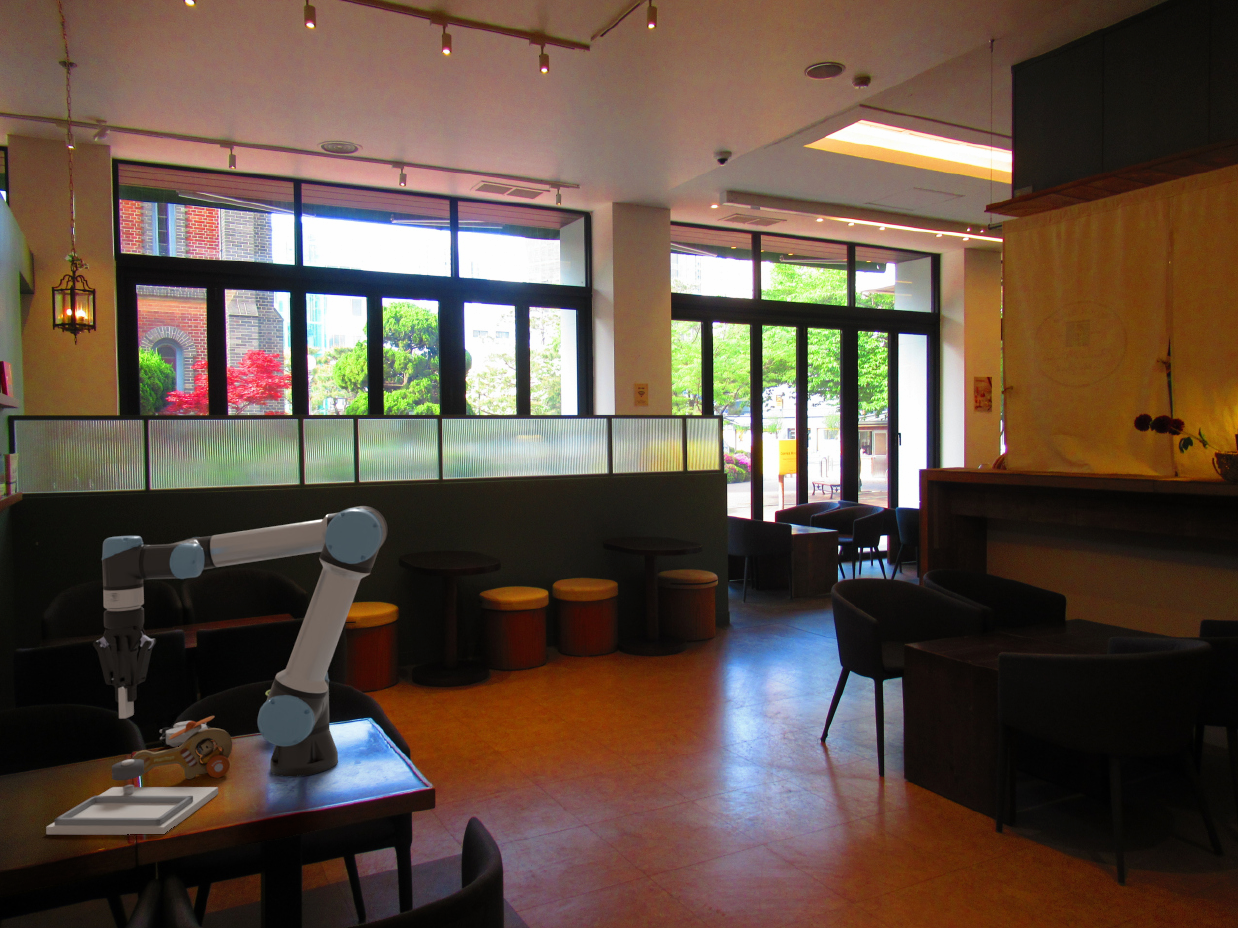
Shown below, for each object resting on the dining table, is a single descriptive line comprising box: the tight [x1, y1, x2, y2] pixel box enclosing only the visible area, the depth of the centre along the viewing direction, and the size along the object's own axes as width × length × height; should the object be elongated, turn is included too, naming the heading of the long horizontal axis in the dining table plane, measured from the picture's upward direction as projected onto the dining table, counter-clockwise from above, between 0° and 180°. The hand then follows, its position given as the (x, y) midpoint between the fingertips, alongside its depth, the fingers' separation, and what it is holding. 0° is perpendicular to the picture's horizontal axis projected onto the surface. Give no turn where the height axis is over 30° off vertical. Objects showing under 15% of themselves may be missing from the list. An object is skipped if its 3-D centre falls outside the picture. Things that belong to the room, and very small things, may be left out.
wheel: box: [111, 758, 145, 781], centre depth 182 cm, size 6×6×3 cm
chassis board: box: [45, 784, 219, 836], centre depth 175 cm, size 24×20×3 cm
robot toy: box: [159, 720, 211, 748], centre depth 221 cm, size 12×4×15 cm
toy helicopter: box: [131, 715, 233, 780], centre depth 194 cm, size 8×21×14 cm, turn 123°
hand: (126, 716), depth 182 cm, fingers closed
